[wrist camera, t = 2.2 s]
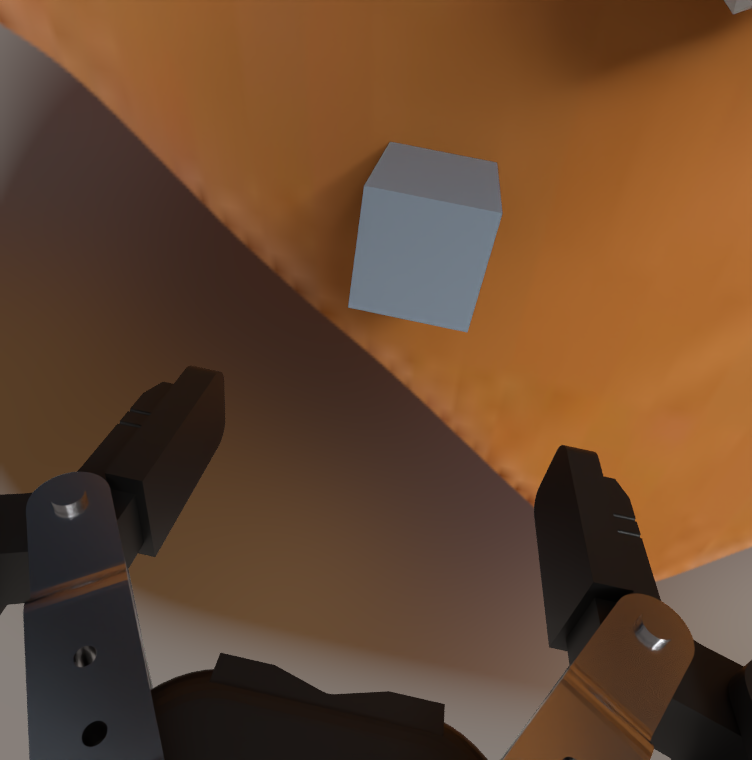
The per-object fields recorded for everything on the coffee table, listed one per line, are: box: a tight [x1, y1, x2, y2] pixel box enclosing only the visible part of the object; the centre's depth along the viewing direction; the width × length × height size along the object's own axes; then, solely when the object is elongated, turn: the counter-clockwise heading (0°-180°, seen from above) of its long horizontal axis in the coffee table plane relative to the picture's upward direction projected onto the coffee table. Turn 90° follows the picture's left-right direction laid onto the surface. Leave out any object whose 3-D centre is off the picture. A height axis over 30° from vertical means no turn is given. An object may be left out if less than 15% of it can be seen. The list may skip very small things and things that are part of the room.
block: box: [348, 142, 502, 332], centre depth 23 cm, size 5×5×7 cm
